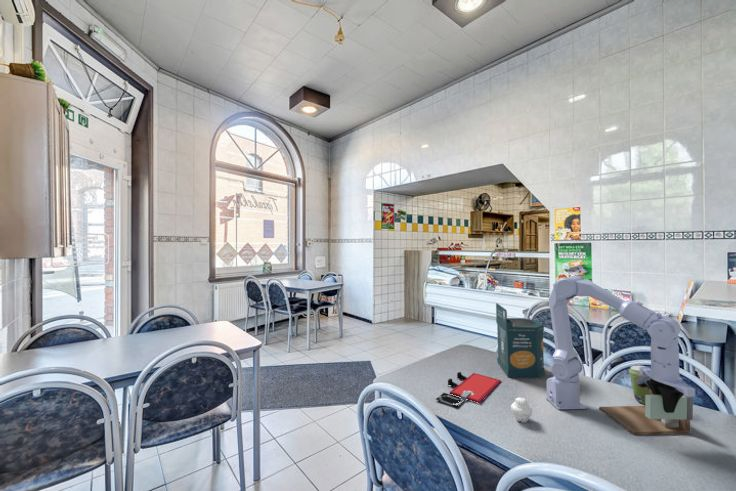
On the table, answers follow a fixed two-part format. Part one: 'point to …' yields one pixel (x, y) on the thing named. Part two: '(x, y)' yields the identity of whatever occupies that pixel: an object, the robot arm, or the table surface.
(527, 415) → the muffin
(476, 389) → the red board with handle
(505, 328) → the donation box
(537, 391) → the table surface
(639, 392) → the beverage can
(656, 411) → the green piece
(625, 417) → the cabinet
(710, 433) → the table surface
